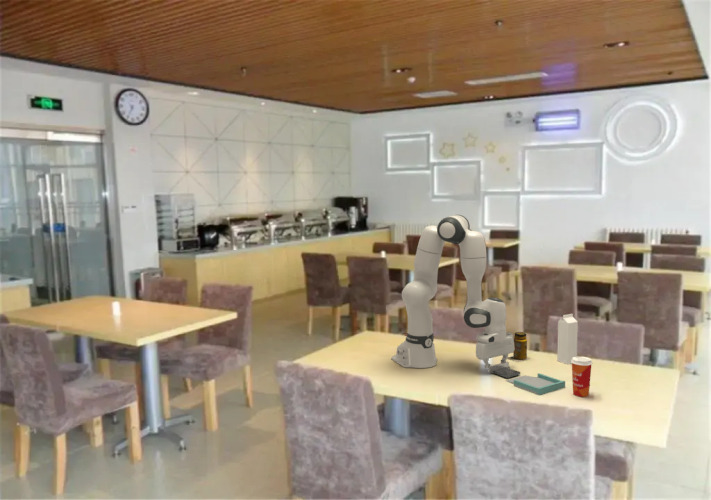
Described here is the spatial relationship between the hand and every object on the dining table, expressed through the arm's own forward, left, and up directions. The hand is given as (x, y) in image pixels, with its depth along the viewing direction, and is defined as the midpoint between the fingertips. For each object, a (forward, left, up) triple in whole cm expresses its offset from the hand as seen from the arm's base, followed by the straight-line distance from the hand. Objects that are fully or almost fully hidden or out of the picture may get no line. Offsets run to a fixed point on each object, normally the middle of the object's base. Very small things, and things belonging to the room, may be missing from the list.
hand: (495, 366), depth 254 cm
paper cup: (+39, +6, -2) cm, 40 cm away
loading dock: (+21, 0, -3) cm, 21 cm away
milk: (+9, +36, -2) cm, 37 cm away
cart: (+6, 0, -2) cm, 6 cm away
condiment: (-7, +22, -2) cm, 23 cm away
